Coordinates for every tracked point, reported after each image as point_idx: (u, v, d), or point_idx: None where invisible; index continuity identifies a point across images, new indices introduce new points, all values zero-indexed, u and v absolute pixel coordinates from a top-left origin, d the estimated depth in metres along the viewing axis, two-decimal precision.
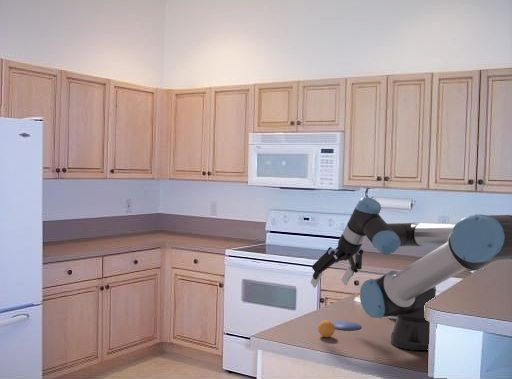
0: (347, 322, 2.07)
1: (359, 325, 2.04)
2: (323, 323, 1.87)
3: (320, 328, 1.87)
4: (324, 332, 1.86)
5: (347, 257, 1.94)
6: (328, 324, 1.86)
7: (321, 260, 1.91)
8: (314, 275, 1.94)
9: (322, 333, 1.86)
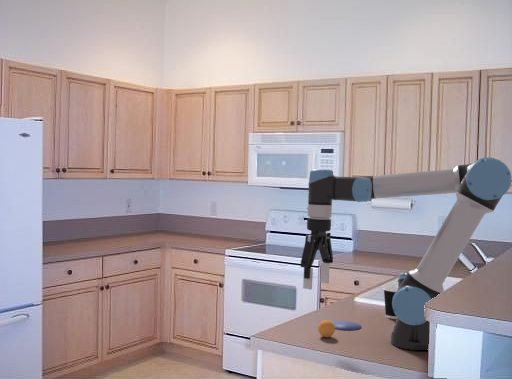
0: (347, 322, 2.07)
1: (359, 325, 2.04)
2: (323, 323, 1.87)
3: (320, 328, 1.87)
4: (324, 332, 1.86)
5: (322, 242, 1.80)
6: (328, 324, 1.86)
7: (306, 252, 1.73)
8: (306, 274, 1.73)
9: (322, 333, 1.86)
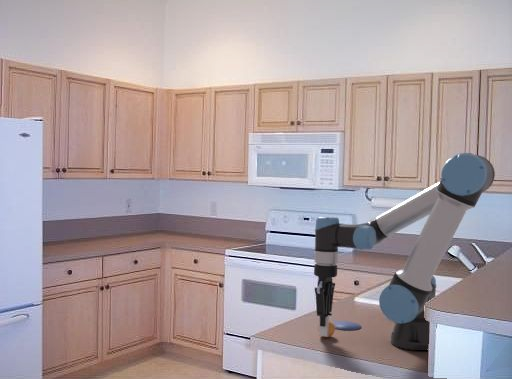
0: (347, 322, 2.07)
1: (359, 325, 2.04)
2: None
3: None
4: None
5: (329, 287, 1.86)
6: (329, 323, 1.87)
7: (319, 303, 1.81)
8: (322, 322, 1.84)
9: None
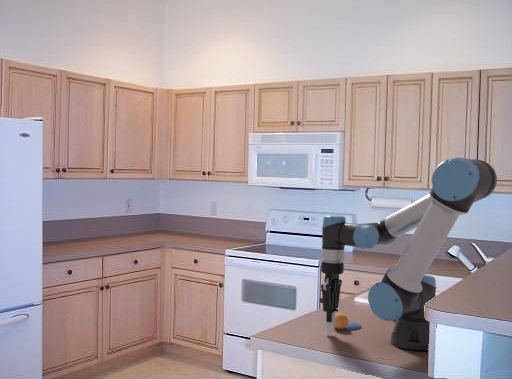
0: None
1: (359, 325, 2.04)
2: None
3: None
4: None
5: (336, 284, 1.91)
6: None
7: (326, 299, 1.87)
8: (328, 318, 1.89)
9: None
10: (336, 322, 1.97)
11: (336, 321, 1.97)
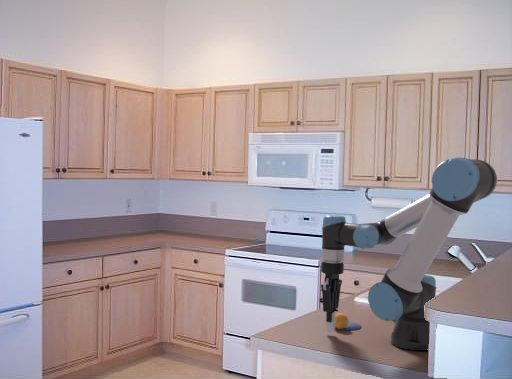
0: None
1: (359, 325, 2.04)
2: None
3: None
4: None
5: (336, 284, 1.91)
6: None
7: (326, 299, 1.87)
8: (328, 318, 1.89)
9: None
10: (336, 322, 1.97)
11: (336, 321, 1.97)
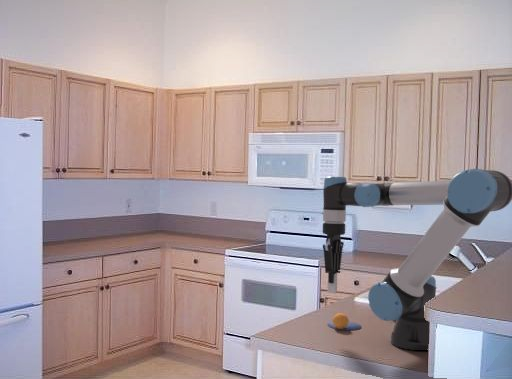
0: None
1: (359, 325, 2.04)
2: None
3: None
4: None
5: (337, 245, 1.90)
6: None
7: (328, 260, 1.86)
8: (330, 279, 1.89)
9: None
10: (336, 322, 1.97)
11: (336, 321, 1.97)
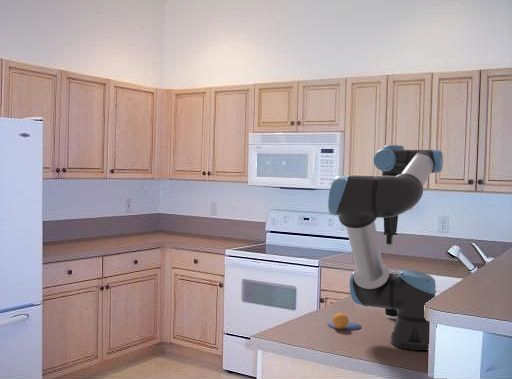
0: None
1: (359, 325, 2.04)
2: None
3: None
4: None
5: None
6: None
7: (387, 222, 2.01)
8: (388, 240, 2.04)
9: None
10: (336, 322, 1.97)
11: (336, 321, 1.97)
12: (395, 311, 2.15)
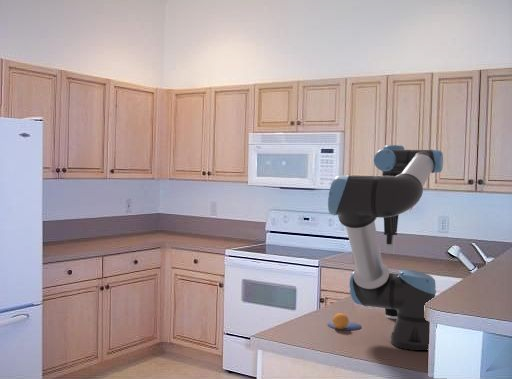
0: None
1: (359, 325, 2.04)
2: None
3: None
4: None
5: None
6: None
7: (387, 222, 2.01)
8: (389, 240, 2.04)
9: None
10: (336, 322, 1.97)
11: (336, 321, 1.97)
12: (395, 311, 2.15)
